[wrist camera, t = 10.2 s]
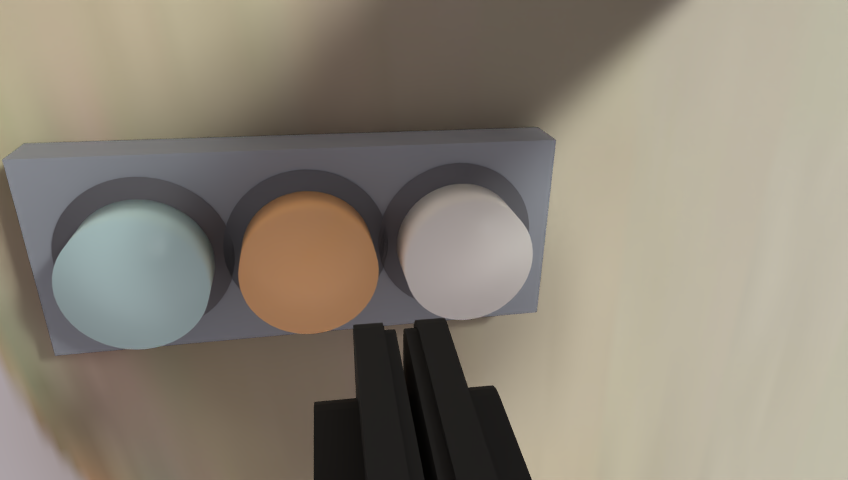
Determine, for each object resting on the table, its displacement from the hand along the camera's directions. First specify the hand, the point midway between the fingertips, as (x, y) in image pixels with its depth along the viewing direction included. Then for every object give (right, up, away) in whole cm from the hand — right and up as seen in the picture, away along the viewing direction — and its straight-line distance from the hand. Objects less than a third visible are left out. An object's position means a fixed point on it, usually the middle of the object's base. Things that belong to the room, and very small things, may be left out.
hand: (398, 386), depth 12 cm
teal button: (-10, +2, +12) cm, 16 cm away
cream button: (+2, +3, +14) cm, 14 cm away
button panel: (-5, +3, +15) cm, 16 cm away
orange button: (-4, +2, +13) cm, 14 cm away
